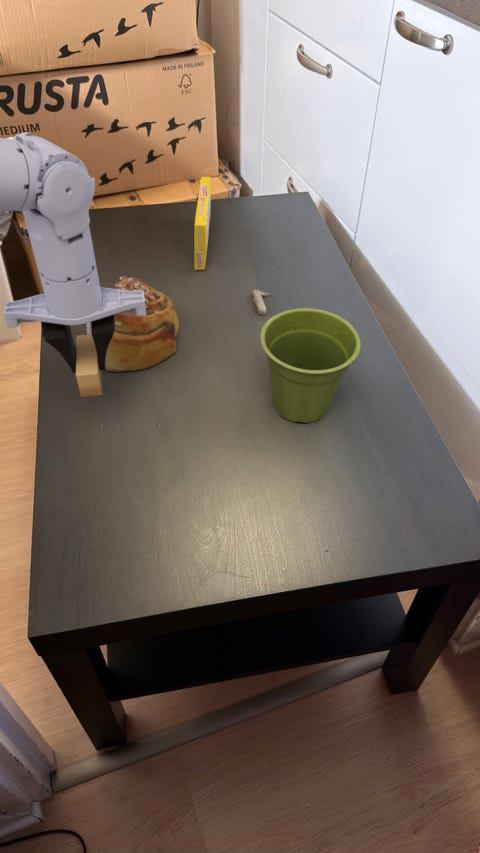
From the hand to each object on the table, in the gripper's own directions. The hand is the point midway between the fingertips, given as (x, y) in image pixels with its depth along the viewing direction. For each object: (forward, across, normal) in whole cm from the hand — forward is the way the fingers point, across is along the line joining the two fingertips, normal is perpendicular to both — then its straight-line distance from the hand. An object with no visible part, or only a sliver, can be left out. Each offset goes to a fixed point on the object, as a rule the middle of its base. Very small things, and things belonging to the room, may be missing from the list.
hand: (89, 366), depth 73 cm
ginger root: (+9, -25, -21) cm, 34 cm away
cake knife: (+2, 0, -6) cm, 6 cm away
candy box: (+10, -18, -39) cm, 44 cm away
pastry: (+10, -5, -16) cm, 19 cm away
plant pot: (+10, -26, +1) cm, 28 cm away
